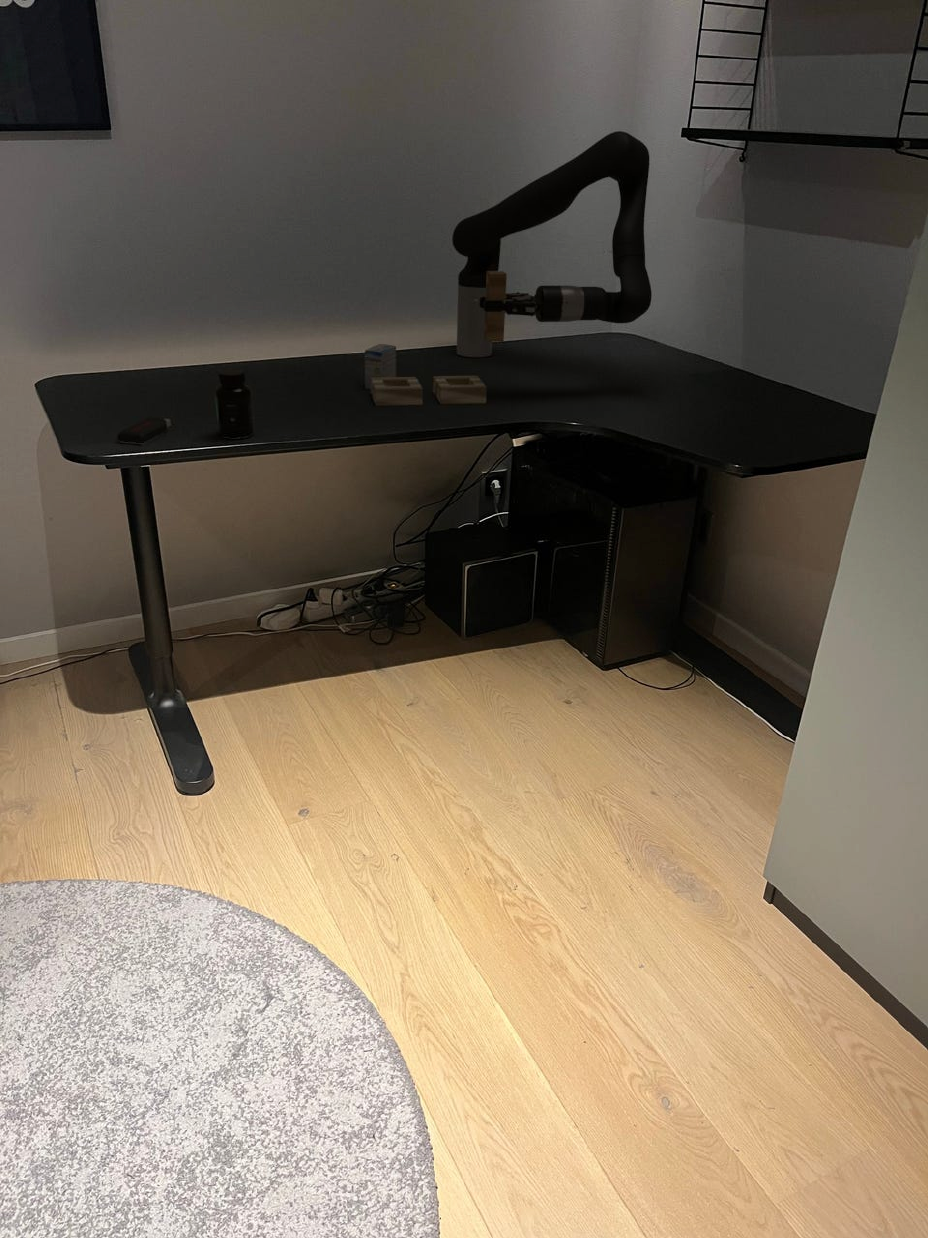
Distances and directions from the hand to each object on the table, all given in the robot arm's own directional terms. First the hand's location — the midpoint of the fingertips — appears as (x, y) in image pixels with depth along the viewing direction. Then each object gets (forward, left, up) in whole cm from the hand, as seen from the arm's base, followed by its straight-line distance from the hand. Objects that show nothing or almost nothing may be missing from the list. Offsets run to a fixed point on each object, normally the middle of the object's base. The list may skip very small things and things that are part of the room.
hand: (482, 304), depth 208 cm
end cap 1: (+1, -19, -20) cm, 27 cm away
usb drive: (+22, -69, -21) cm, 75 cm away
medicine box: (-11, -21, -20) cm, 31 cm away
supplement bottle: (+23, -53, -20) cm, 61 cm away
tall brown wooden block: (0, +3, -8) cm, 8 cm away
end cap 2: (+1, -5, -20) cm, 20 cm away
